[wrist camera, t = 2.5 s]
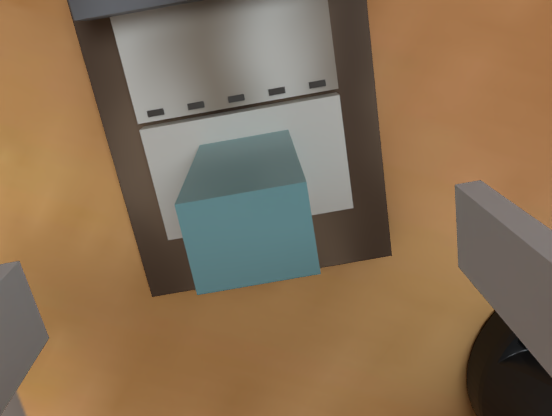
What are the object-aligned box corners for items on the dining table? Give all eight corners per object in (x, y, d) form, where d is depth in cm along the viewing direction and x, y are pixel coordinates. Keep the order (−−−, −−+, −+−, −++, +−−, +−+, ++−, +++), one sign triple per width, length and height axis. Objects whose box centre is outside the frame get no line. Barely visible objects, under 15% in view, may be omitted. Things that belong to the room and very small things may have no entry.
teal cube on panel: (336, 92, 26) (384, 130, 17) (349, 201, 28) (399, 291, 19) (143, 126, 26) (83, 183, 17) (171, 233, 28) (131, 337, 19)
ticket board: (345, -141, 24) (365, -176, 20) (385, 244, 31) (406, 280, 27) (52, -87, 24) (10, -110, 20) (156, 284, 31) (141, 325, 27)
